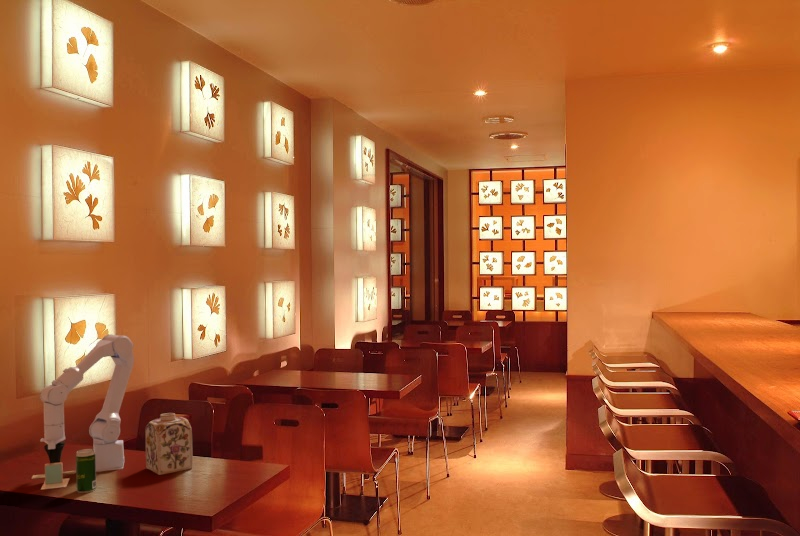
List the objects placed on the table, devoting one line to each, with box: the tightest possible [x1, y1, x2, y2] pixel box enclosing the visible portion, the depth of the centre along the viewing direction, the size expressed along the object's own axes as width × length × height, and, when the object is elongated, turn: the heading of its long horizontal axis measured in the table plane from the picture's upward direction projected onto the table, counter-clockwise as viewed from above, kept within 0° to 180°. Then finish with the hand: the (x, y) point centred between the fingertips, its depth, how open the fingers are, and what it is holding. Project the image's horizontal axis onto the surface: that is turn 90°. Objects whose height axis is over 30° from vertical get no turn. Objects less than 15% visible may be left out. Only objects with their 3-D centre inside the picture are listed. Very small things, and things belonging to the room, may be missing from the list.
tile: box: [44, 461, 64, 485], centre depth 222 cm, size 2×5×6 cm, turn 109°
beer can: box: [75, 448, 97, 494], centre depth 214 cm, size 5×5×12 cm
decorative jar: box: [144, 412, 194, 476], centre depth 236 cm, size 12×12×18 cm
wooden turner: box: [30, 470, 76, 480], centre depth 231 cm, size 12×4×1 cm, turn 109°
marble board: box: [40, 477, 71, 490], centre depth 221 cm, size 7×10×1 cm
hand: (55, 467), depth 226 cm, fingers closed
